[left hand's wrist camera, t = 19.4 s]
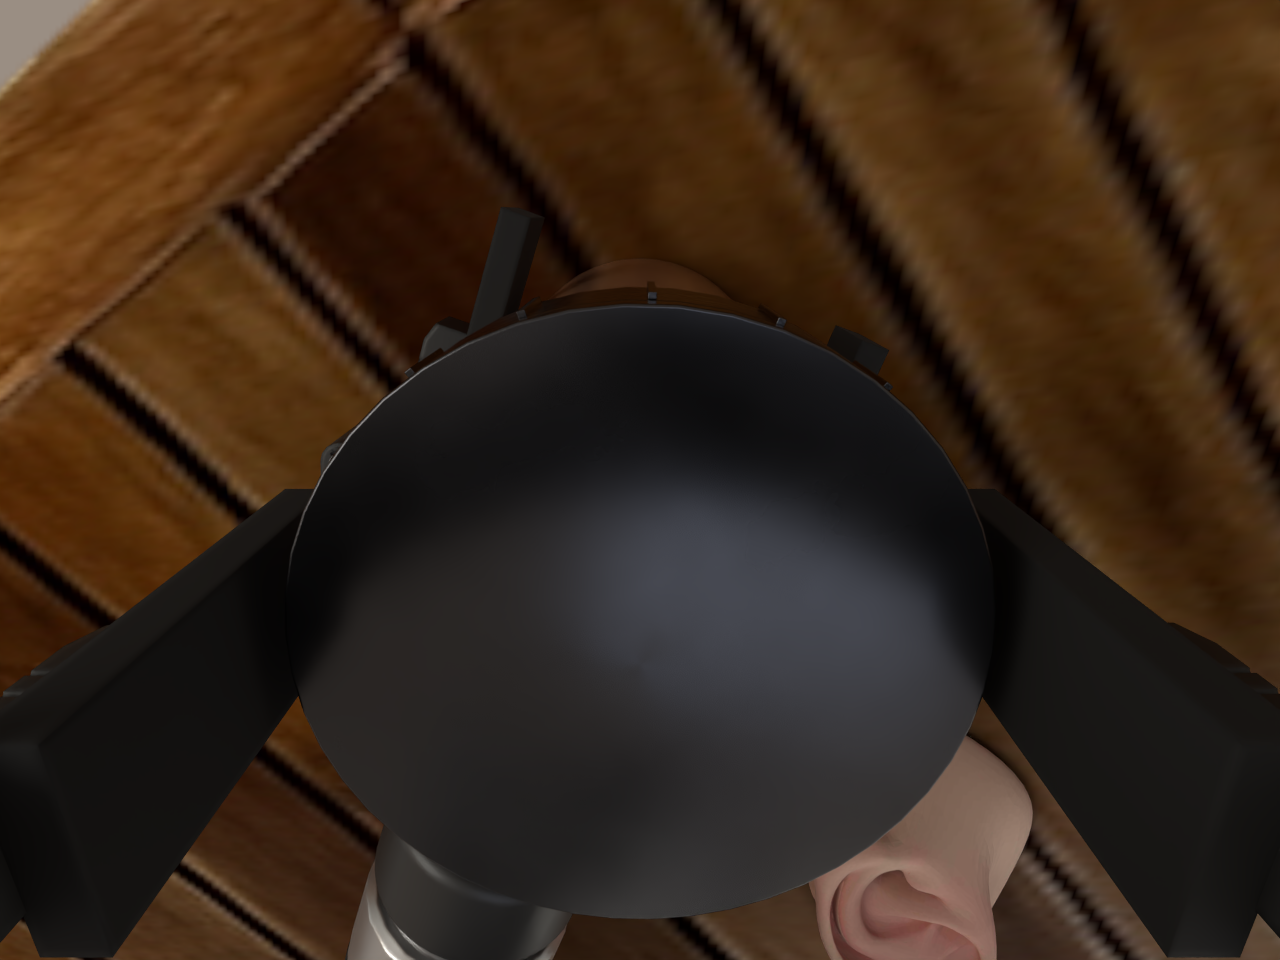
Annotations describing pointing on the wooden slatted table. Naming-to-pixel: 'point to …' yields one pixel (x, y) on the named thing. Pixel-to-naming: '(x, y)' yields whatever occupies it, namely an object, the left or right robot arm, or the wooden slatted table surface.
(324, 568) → the lid
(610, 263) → the jar
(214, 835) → the wooden slatted table surface
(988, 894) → the anatomical model
